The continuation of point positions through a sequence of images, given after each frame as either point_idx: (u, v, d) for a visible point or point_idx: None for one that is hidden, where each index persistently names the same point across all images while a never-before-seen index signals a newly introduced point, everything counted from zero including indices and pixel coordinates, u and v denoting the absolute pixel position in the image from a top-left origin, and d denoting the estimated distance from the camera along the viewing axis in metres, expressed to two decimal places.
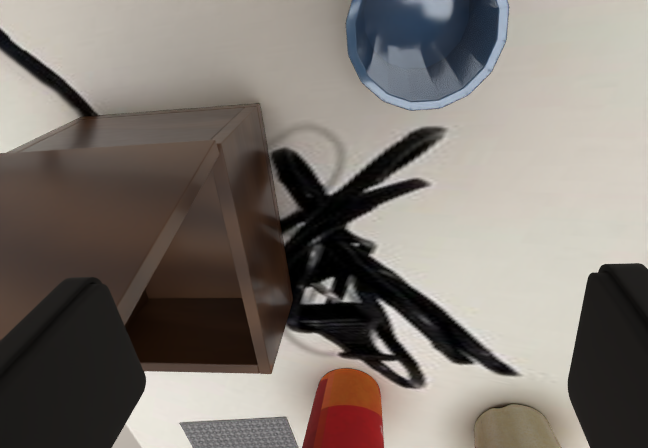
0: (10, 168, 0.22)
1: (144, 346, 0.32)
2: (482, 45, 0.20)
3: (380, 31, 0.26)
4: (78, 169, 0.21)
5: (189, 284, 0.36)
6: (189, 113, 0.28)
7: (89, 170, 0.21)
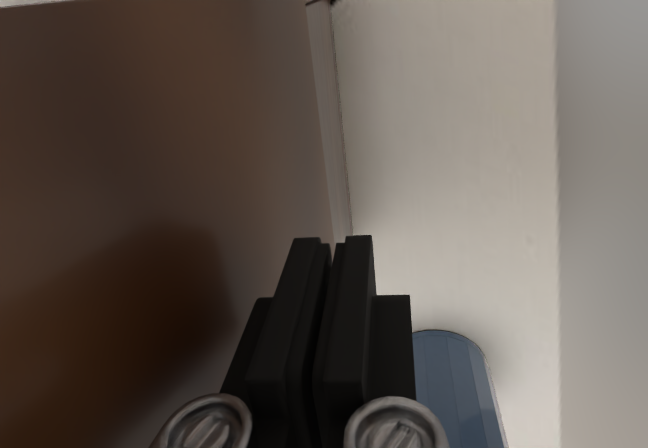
0: (292, 103, 0.11)
1: None
2: None
3: None
4: None
5: None
6: (344, 176, 0.21)
7: None
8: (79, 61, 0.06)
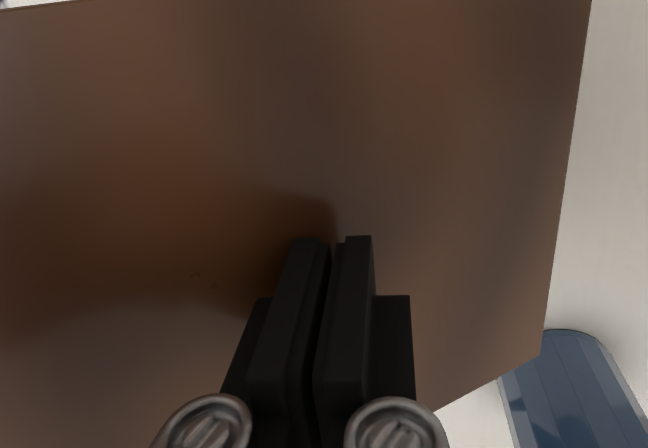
0: (533, 77, 0.11)
1: None
2: None
3: None
4: (506, 226, 0.12)
5: None
6: None
7: (501, 246, 0.13)
8: (296, 17, 0.08)
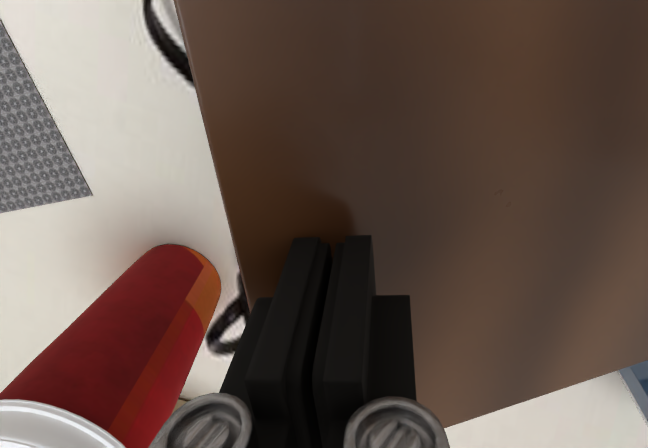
0: None
1: None
2: None
3: None
4: None
5: None
6: None
7: None
8: None
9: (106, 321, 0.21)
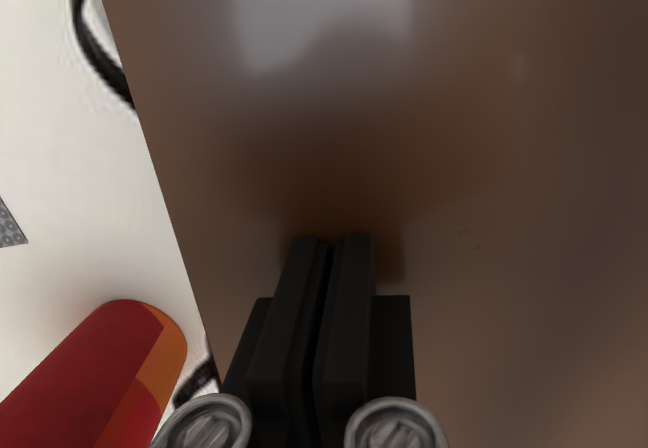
0: None
1: None
2: None
3: None
4: None
5: None
6: None
7: None
8: None
9: (24, 422, 0.17)
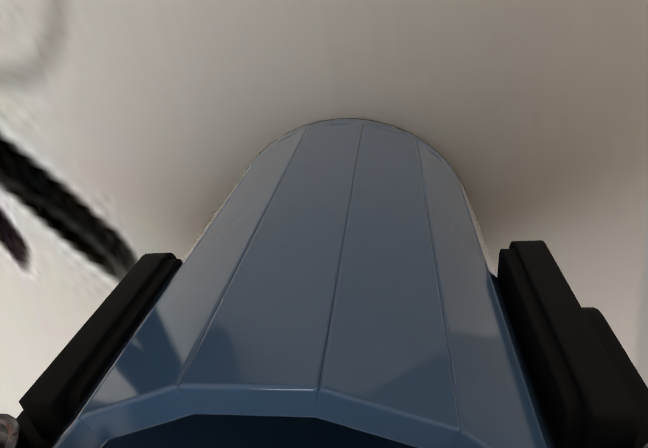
0: None
1: None
2: None
3: None
4: None
5: None
6: None
7: None
8: None
9: None
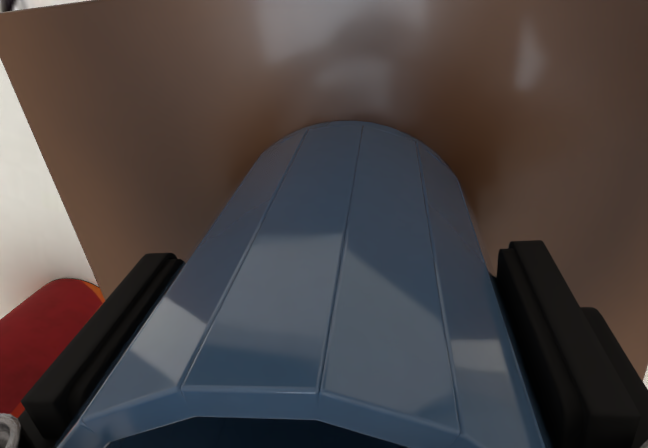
0: None
1: None
2: None
3: None
4: (593, 237, 0.12)
5: None
6: None
7: (584, 258, 0.12)
8: (365, 1, 0.10)
9: None
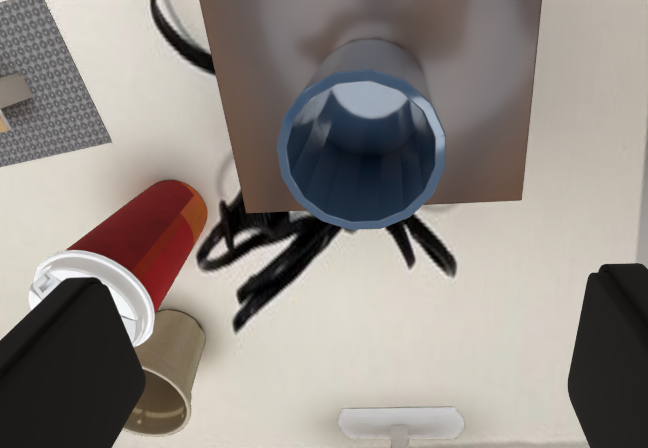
0: (503, 16, 0.22)
1: None
2: (344, 198, 0.20)
3: None
4: (488, 99, 0.24)
5: None
6: None
7: (485, 111, 0.24)
8: None
9: (126, 218, 0.31)
